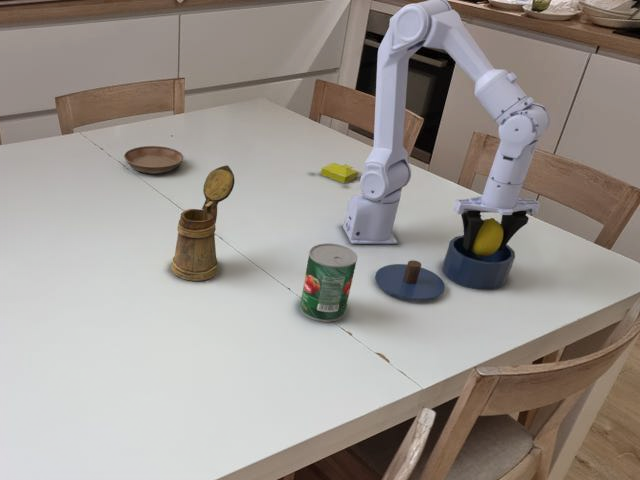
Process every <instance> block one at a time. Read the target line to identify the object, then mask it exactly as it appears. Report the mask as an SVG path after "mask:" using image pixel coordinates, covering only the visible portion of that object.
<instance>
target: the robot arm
mask: <svg viewBox="0 0 640 480" xmlns="http://www.w3.org/2000/svg"><path fill="white" fill-rule="evenodd" d="M388 25H389V26H388V28H387V31H386V33H385V34H384V37H383V39H382V40H381V43H380V45H379V47H378V50H377V59H376V60H377V62H376V82H375V84H376V85H375V87H376V88H375V103H374V104H375V105H374V106H375V107H374V124H373V125H374V126H373V127H374V129H373V148H372V150H371V152H370V153H369V155H368V157H367V158H366V160H365V162H364V170H363V172H362V175H361V177H360V180H359V188H360V191H361V193H359V194H358V193H357V194H353V195H351V196H350V197H349V199H348V203H347V208H346V213H345V217H344V223H343V225H342V229H343V230H344V232H345V234H346V236H347V238H348V240H349V242H350V243H351V244H352V245H380V244H381V245H396V244H397V243H398V241H397V240H398V239H396V238H395V236H394V234H393V229H394V226H395V225H394V224H395V221H396V216H397V213H398V208H399V204H400V200H401V197H402V190H403V188H404V187H406V186H407V185H408V184H409V182H410V181H411V178H412V169H411V166H410V163H409V152H408V151H407V149H406V148H405V147H404V131H405V120H406V119H405V118H406V103H407V88H408V76H409V75H408V74H409V60H410V58H411V57H412V56H413V55H414V54H415V53H416V52H418V50H420V49H421V48H422V47H425V48H431V49H438V50H444V51H445V52H446V53H448V55H449V56H450V58H451V59H453V61H454V62H455V63H456V64H457V65H458V66H459V67H460V68H461V70H463V71H464V73H465V74H466V75H467V76H468V78H469V79H471V80H472V81H473V82H474V84H475V85H474V97H475V98H476V99H477V100H478V102H479V103H480V104H481V106H482V107H483V108H484V110H485V111H486V112H487V113H488V115H490V117H491V118H492V119H493V121H494V122H495V124H497V125H498V137H499V140H500V141H499V145H498V149H496V153H495V156H494V159H493V161H492V165H491V168H490V171H489V174H488V177H487V180H486V183H485V186H484V189H483V193H482V195H481V196H476V197H475V196H474V197H469V198H464V199H456V200H455V203H454V206H453V211H454V213H456V215H461V220H462V227H463V235H464V240H463V246H464V248H465V249H466V250H467V251H471V249H472V247H473V244H474V241H475V238H476V236H477V233H478V231H479V230H480V228H481V226H482V225H483V223H484V221H483V220H484V219H482V214H483V213H484V214H485V213H494V214H495V213H496V214H499V215H500V216H501V219H500V224H501V226H502V228H503V240H502V243H501V245H500V247H499V248H498V250H503V249H504V247H505V246H506V244H507V245H508V243H509V242H510V241H511V239H512V238H513V237H514V235H516V233H517V232H519V230H520V229H522V228H523V227H525V226H526V225H527V224H528V222H529V220H530V218H529V216H528V215H527V213H529V214H531V215H537V214H538V213H539V209H540V207H541V203H539V201H537V200H536V199H530V198H529V199H528V198H520V197H519V196H520V194H521V192H522V188H523V185H524V183H525V181H526V177H527V175H528V172H529V169H530V167H531V164H532V161H533V158H534V153H535V151H536V148H537V146H538V143H539V138H540V137H541V136H543V135H544V134H545V132H546V131H547V130H548V128H549V126H550V120H551V119H550V115H549V112H548V111H547V108H546V106H544V105H543V104H540V103H537V102H536V101H535V99H534V98H533V97H532V96H531V97H528V95H527V94H526V93H525V92H524V90H523V89H522V87H520V85H519V84H518V83H517V81H516V80H517V79H518V76H517V75H516V74H515V72H510V73H509V72H508V70H506V69H499V68H498V69H497V68H494V66H493V65H492V63H491V62H490V61H489V59H488V58H487V56H486V55H485V54H484V51H482V49H481V48H480V46H479V45H478V43H477V42H476V41H475V40H474V38H473V36H472V34H471V33H470V32H469V30H468V29H467V28H466V27H465V25H464V23H463V21H462V19H461V15H460V14H459V13H458V11H456V10H455V9H452V6H451V4H450V3H449V2H448V1H447V0H425V1H421V2H416V3H409V4H406V5H405V6H402V8H400V9H399V10H398V11H397V12H396V13H395V14H393V16H391V17H390V18H389V24H388Z"/></svg>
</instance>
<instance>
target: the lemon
mask: <svg viewBox="0 0 640 480" xmlns="http://www.w3.org/2000/svg"><path fill="white" fill-rule="evenodd" d="M482 220H483V221H484V223H483V225H482V226H481V228H480V230H479V231H478V233H477V236H476V238H475V241H474V244H473V247H472V249H471V251H472V252H473V253H474V254H476V255H477V257H479V258H482V257H484V256H489V255H492V254H493V253H495V252H496V251H497V250H498V248H499V247H500V245H501V243H502V240H503V228H502V226H501V222H499V221H498V220H496V219H495V218H494V217H490V218H485V219H482Z"/></svg>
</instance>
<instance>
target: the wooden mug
mask: <svg viewBox="0 0 640 480" xmlns="http://www.w3.org/2000/svg"><path fill="white" fill-rule="evenodd" d="M235 181H236V180H235V174H234V172H233V171H232V169H231V167H230V166H229V165H228V164H225V165H222V166H219V167H217V168H215V169H213V170H211V171H210V172H209V174H208V175H207V176H206V178H205V180H204V184H203V189H202V192H203V196H204V198H205V200H204V203H203V205H202V207H201V209H198V208H188V209H185V210H184V211H182V212H181V213H180V216H179V217H180V218H179V220H178V221H177V237H176V246H175V251H174V256H173V257H172V261H171V267H170V269H171V272H172V273H173V274H174V276H176V277H178V278H180V279H182V280H185V281H192V282H193V281H194V282H199V281H207V280H210V279H212V278H213V277H215V276H216V275H217V274H218V272H219V261H218V257H217V251H216V237H215V236H216V234H215V232H216V229H217V227H216V223H217V218H218V205H219V203H220V202H222V201H224V200H226V199H227V198H229V196H230V195H231V193H232V192H233V189H234V186H235Z"/></svg>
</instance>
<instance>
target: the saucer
mask: <svg viewBox="0 0 640 480" xmlns="http://www.w3.org/2000/svg"><path fill="white" fill-rule="evenodd" d="M123 157H124V160H125V161H126V163H127V164H128V165H129V166H130V167H131V168H132V169H134V170H136V171H137V172H140V173H145V174H152V175H153V174H154V175H155V174H165V173H169V172H170V171H173V170H174V169H176V168H177V167H178V166H180V164H181V162H182V161H183V160H184V155H183V153H181V152H180V151H178V150H176V149H174V148H171V147H166V146H159V145H145V146H138V147H134V148H131V149H129V150H127V151H125V153H124V155H123Z"/></svg>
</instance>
